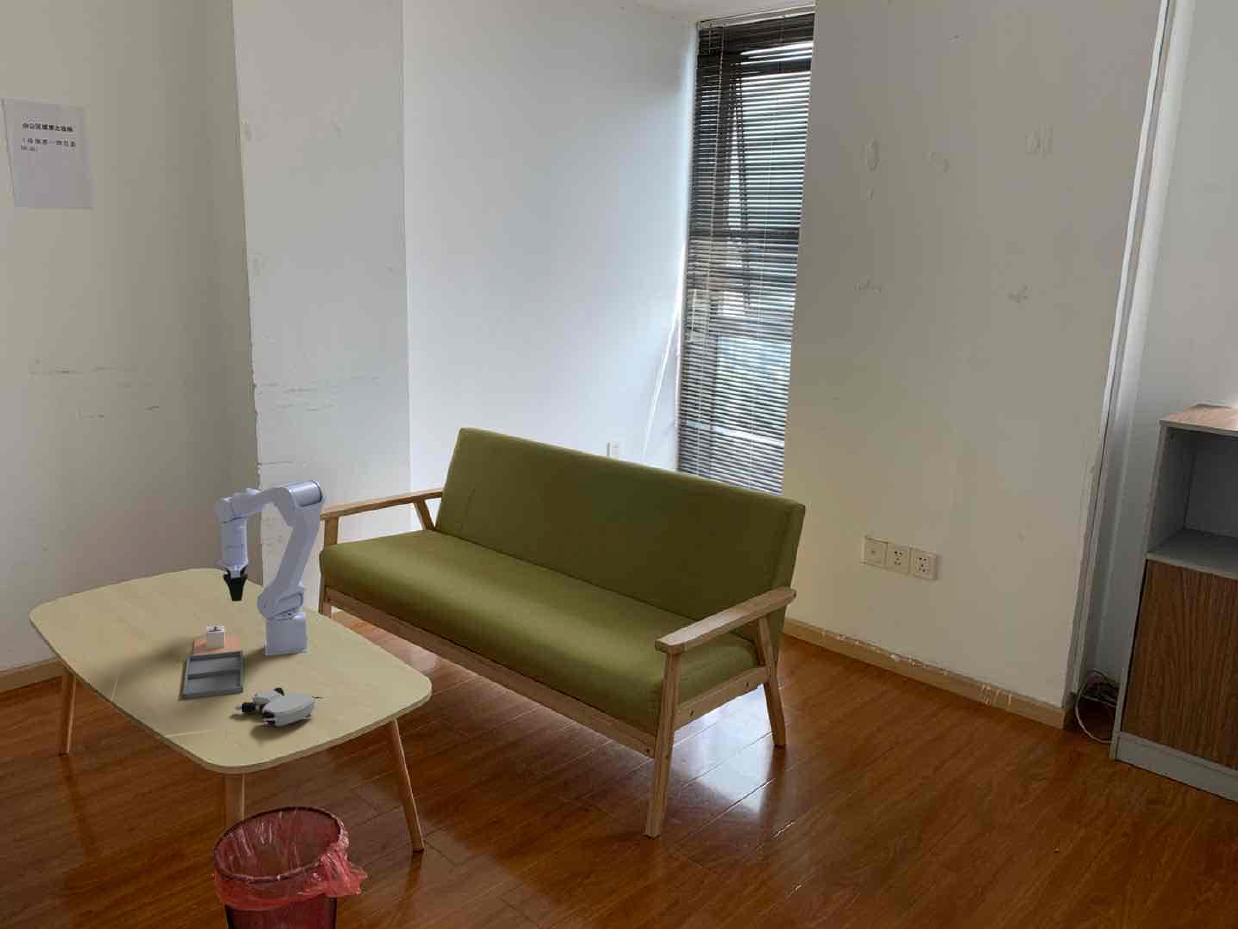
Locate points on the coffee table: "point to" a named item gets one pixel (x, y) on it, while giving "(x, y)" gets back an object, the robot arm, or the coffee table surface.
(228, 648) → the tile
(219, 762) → the coffee table surface
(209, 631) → the letter cube
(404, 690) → the coffee table surface
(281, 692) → the robot toy
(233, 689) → the sorting tray
